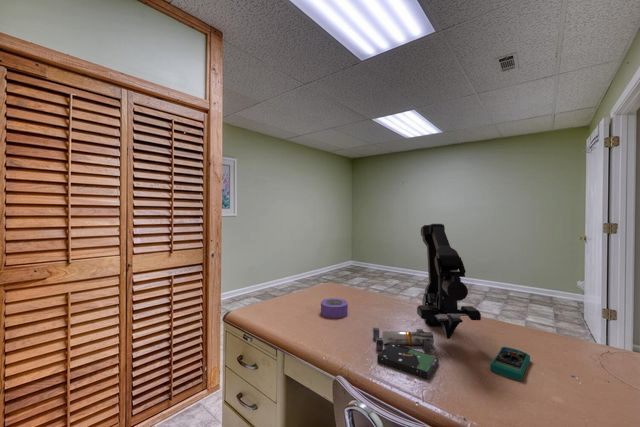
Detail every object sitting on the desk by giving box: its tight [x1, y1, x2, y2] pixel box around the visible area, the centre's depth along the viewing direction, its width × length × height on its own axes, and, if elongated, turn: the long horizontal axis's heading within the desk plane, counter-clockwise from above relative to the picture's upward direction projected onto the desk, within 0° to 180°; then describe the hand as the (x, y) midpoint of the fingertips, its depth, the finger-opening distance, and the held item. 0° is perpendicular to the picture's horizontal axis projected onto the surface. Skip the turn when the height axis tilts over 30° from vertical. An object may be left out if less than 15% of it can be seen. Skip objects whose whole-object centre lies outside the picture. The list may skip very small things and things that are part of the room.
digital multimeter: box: [489, 346, 531, 382], centre depth 81 cm, size 7×15×3 cm, turn 136°
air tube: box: [381, 330, 435, 346], centre depth 94 cm, size 16×4×4 cm, turn 86°
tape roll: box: [320, 297, 349, 319], centre depth 123 cm, size 12×12×5 cm
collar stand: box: [372, 327, 432, 353], centre depth 94 cm, size 17×10×4 cm, turn 86°
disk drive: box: [376, 343, 439, 381], centre depth 82 cm, size 10×3×15 cm
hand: (447, 338), depth 93 cm, fingers closed
